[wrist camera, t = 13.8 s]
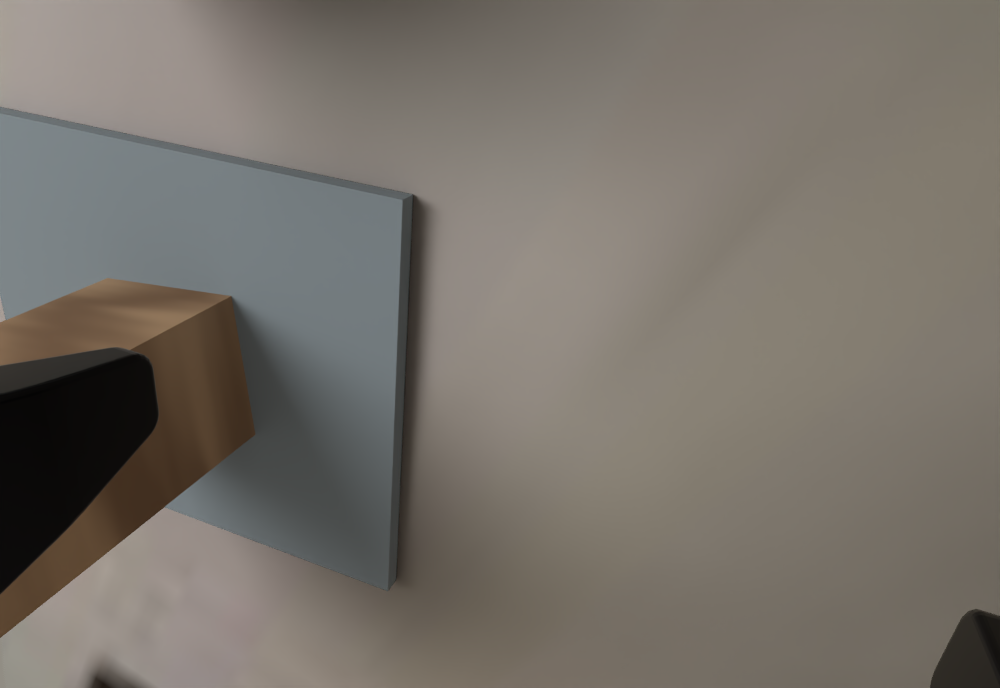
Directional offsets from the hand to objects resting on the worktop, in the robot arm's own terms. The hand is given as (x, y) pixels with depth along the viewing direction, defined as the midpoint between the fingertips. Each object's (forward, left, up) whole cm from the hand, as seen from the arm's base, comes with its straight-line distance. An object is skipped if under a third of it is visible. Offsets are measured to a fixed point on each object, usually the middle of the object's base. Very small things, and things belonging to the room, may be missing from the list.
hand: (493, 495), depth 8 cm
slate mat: (+15, +8, -12) cm, 21 cm away
